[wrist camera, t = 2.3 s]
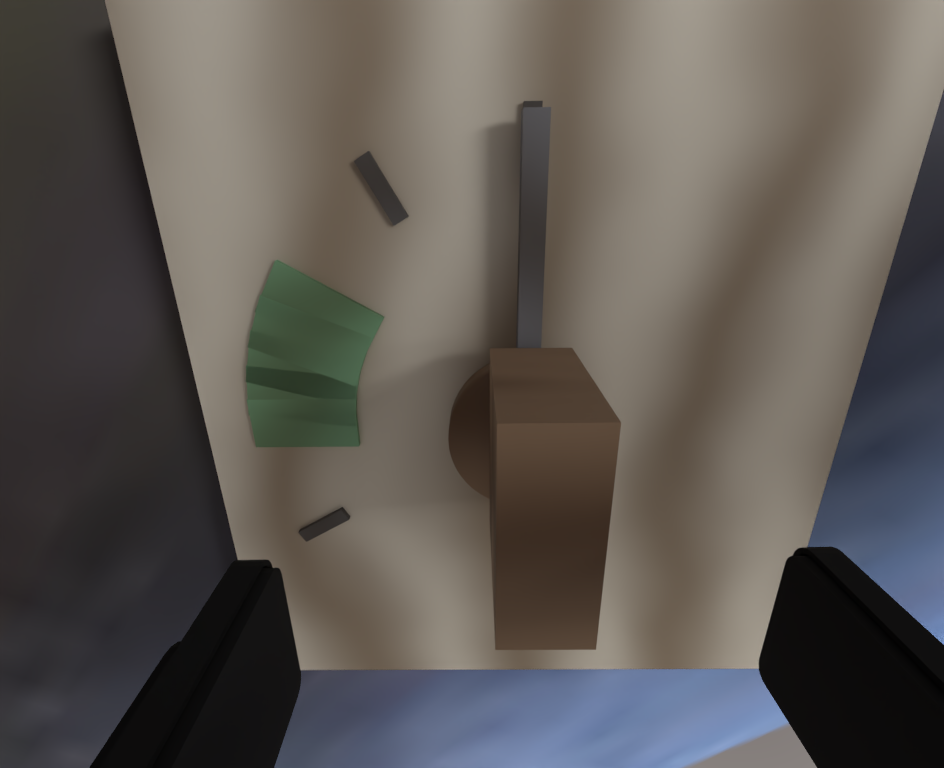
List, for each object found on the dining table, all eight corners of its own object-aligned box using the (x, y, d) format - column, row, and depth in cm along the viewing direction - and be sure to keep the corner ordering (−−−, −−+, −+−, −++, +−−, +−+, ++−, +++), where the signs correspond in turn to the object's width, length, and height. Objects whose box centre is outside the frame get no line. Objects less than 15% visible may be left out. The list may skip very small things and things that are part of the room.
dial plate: (923, 3, 13) (983, -23, 12) (751, 638, 22) (773, 672, 20) (142, 17, 14) (98, -7, 12) (277, 640, 22) (262, 674, 21)
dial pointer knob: (592, 501, 17) (650, 649, 11) (452, 501, 17) (441, 650, 11) (629, 110, 13) (753, 37, 7) (439, 113, 13) (410, 43, 7)
